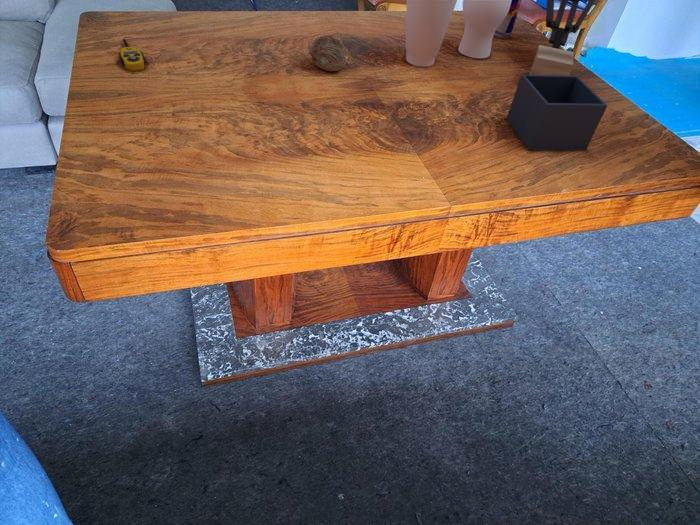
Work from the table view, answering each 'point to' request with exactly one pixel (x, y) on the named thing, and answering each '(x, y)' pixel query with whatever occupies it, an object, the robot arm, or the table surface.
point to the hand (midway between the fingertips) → (552, 56)
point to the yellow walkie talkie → (132, 58)
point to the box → (555, 112)
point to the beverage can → (508, 21)
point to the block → (552, 62)
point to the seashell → (327, 53)
